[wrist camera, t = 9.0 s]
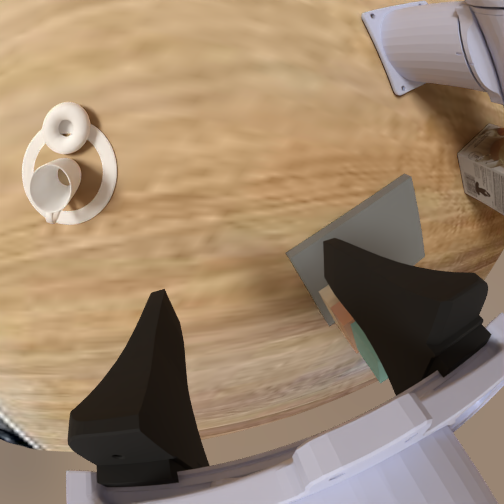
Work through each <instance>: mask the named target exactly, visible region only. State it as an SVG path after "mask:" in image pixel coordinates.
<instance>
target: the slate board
mask: <svg viewBox="0 0 504 504" xmlns="http://www.w3.org/2000/svg"><path fill="white" fill-rule="evenodd" d="M332 238H337V239H340V240H343V241H345V242H348V243H350V244H353V245H355V246H357V247H360V248H362V249H364V250H367V251H369V252H372V253H374V254H377V255H380V256H382V257H385V258H388V259H391V260H394V261H397V262H400V263H404V264H407V265H411V266H414V265H415V264H416V263H417V262H419V261H420V260H421V259H422V258H423V257H425V253H424V245H423V238H422V231H421V224H420V218H419V212H418V207H417V202H416V197H415V192H414V187H413V182H412V178H411V176H409V175H406V174H403V175H402V176H400V177H399V178H397V179H396V180H394V181H393V182H391V183H390V184H389V185H387V186H386V187H384V188H383V189H381V190H380V191H378V192H377V193H375V194H374V195H372V196H371V197H369V198H368V199H366V200H365V201H363V202H362V203H360V204H359V205H358V206H356V207H355V208H353V209H352V210H350V211H349V212H347V213H346V214H344V215H343V216H341V217H340V218H338V219H337V220H335V221H334V222H332V223H331V224H329V225H328V226H326V227H325V228H323V229H321V230H320V231H318V232H317V233H315V234H314V235H312V236H311V237H309V238H308V239H306V240H305V241H303V242H302V243H300V244H299V245H297V246H296V247H294V248H293V249H291V250H290V251H288V252H286V254H287V256H288V258H289V259H290V261H291V263H292V264H293V266H294V268H295V269H296V271H297V273H298V274H299V276H300V278H301V279H302V281H303V283H304V285H305V286H306V288H307V290H308V291H309V293H310V295H311V296H312V298H313V300H314V302H315V303H316V305H317V307H318V308H319V310H320V312H321V314H322V315H323V317H324V319H325V320H326V322H327V323H328V325H329V326H331V325H332V324H334V323H335V321H334V319H333V318H332V316H331V314H330V312H329V310H328V308H327V306H326V305H325V303H324V301H323V299H322V297H321V295H320V294H319V292H318V291H320V290H321V289H323V288H324V287H326V286H327V285H328V283H327V281H326V279H325V278H324V252H323V241H326V240H329V239H332Z"/></svg>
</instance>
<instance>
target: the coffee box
mask: <svg viewBox="0 0 504 504" xmlns="http://www.w3.org/2000/svg"><path fill="white" fill-rule="evenodd" d="M457 156H458V160H459V165H460V170H461V175H462V180H463V186H464V192H465V193H466V194H468V195H470V196H472V197H473V198H475V199H477V200H479V201H481V202H482V203H484V204H486V205H487V206H489V207H491V208H492V209H494V210H496V211H498V212H499V213H501V214H502V215H504V128H502V127H499V126H496V125H493V124H490V123H489V124H488V125H487V126H486V127H485V128H484V129H483V130H482V131H481V132H480V133H479V134H478V135H477V136H476V137H474V138H473V139H472V140H471V141H470V142H469V143H468V144H467V145H466V146H465V147H464V148H463V149H462V150H461V151H460V152H459V153H458V154H457Z"/></svg>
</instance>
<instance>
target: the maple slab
mask: <svg viewBox="0 0 504 504" xmlns="http://www.w3.org/2000/svg"><path fill="white" fill-rule="evenodd" d="M318 292H319V294H320V295H321V297H322V299H323V301H324V303H325V305H326V306H327V308H328V310H329V312H330V314H331V316H332V318H333V319H334V321H335V323H336V324H337V326H338V327H339V329H340V330H341V328H340V326H339V324H338V322H337V320H336V318H335V316H334V314H333V312H332V310H331V307H332V306H334V305H335V304H337V303H338V302H339V300H338V298H337V297H336V296H335V295H334V293H333V291H332V290H331V288H330V286H329V285H327V286H326V287H324V288H323V289H321V290H320V291H318ZM341 331H342V330H341ZM342 333H343V331H342ZM343 334H344V333H343ZM344 336H345V335H344Z"/></svg>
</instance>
